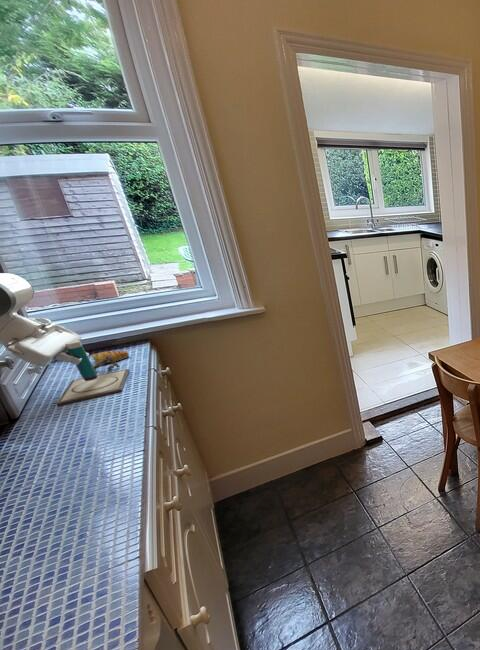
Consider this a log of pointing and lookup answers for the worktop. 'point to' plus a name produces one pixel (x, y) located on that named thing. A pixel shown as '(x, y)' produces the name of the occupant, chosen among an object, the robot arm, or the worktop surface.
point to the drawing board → (94, 387)
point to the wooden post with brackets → (108, 362)
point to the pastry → (115, 354)
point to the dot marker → (85, 365)
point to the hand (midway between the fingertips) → (83, 359)
